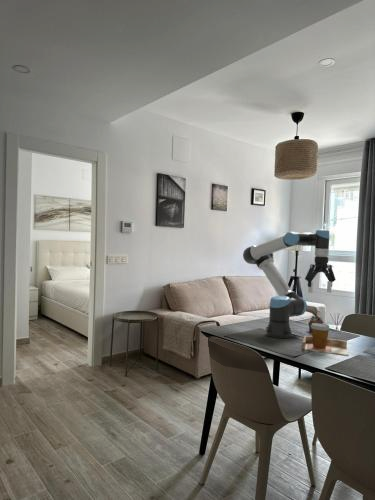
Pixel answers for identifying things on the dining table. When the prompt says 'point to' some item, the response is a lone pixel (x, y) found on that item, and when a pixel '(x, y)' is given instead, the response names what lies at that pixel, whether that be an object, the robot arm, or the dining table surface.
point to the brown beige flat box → (327, 346)
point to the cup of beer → (319, 335)
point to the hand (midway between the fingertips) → (319, 292)
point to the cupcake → (314, 321)
